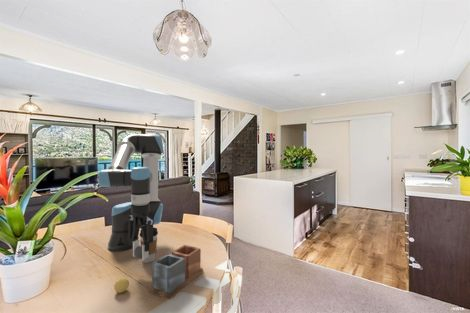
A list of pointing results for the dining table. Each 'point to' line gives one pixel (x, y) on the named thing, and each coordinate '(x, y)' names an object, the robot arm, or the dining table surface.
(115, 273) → the dining table surface
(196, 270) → the desk organizer
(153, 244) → the coffee cup
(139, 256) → the charcoal ball
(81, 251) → the dining table surface
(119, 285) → the ochre ball
